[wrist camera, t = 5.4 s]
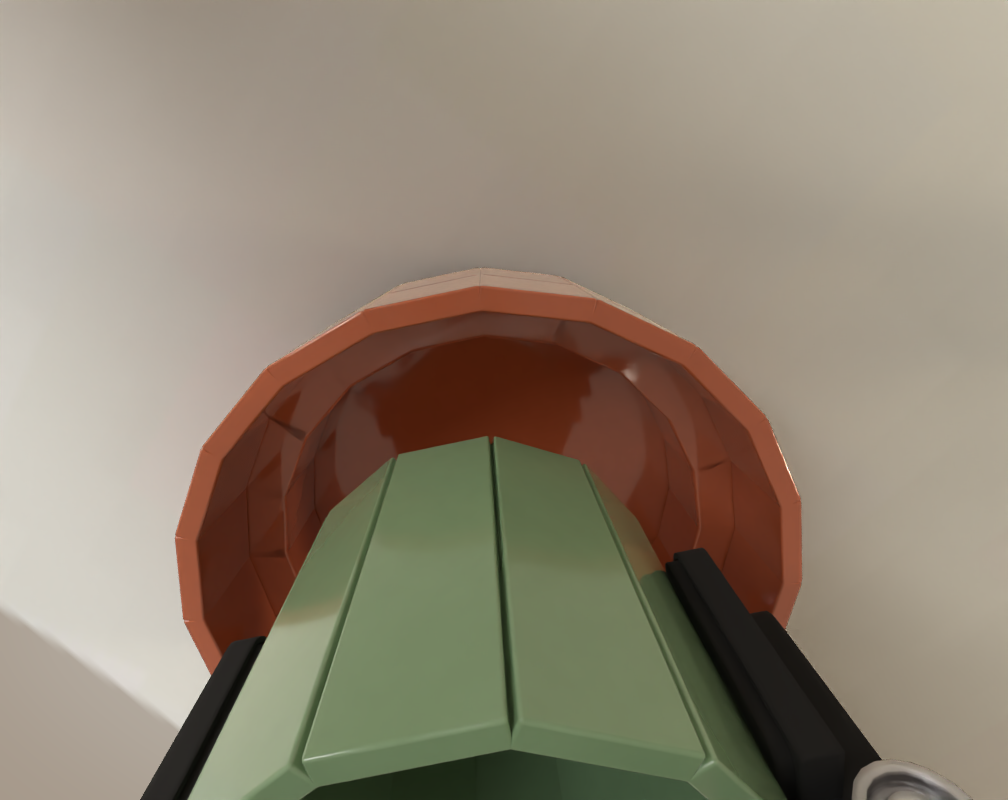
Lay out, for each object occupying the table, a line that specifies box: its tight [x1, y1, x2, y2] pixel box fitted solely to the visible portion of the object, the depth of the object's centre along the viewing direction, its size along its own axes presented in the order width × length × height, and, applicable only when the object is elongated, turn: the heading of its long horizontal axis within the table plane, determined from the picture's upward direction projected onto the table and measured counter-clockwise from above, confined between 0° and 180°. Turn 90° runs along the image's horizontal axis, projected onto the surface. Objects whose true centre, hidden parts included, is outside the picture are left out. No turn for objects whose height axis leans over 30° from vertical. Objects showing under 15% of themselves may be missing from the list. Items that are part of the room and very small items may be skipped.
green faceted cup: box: [187, 436, 787, 800], centre depth 9 cm, size 8×8×6 cm
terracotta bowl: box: [175, 267, 802, 675], centre depth 15 cm, size 15×15×6 cm
